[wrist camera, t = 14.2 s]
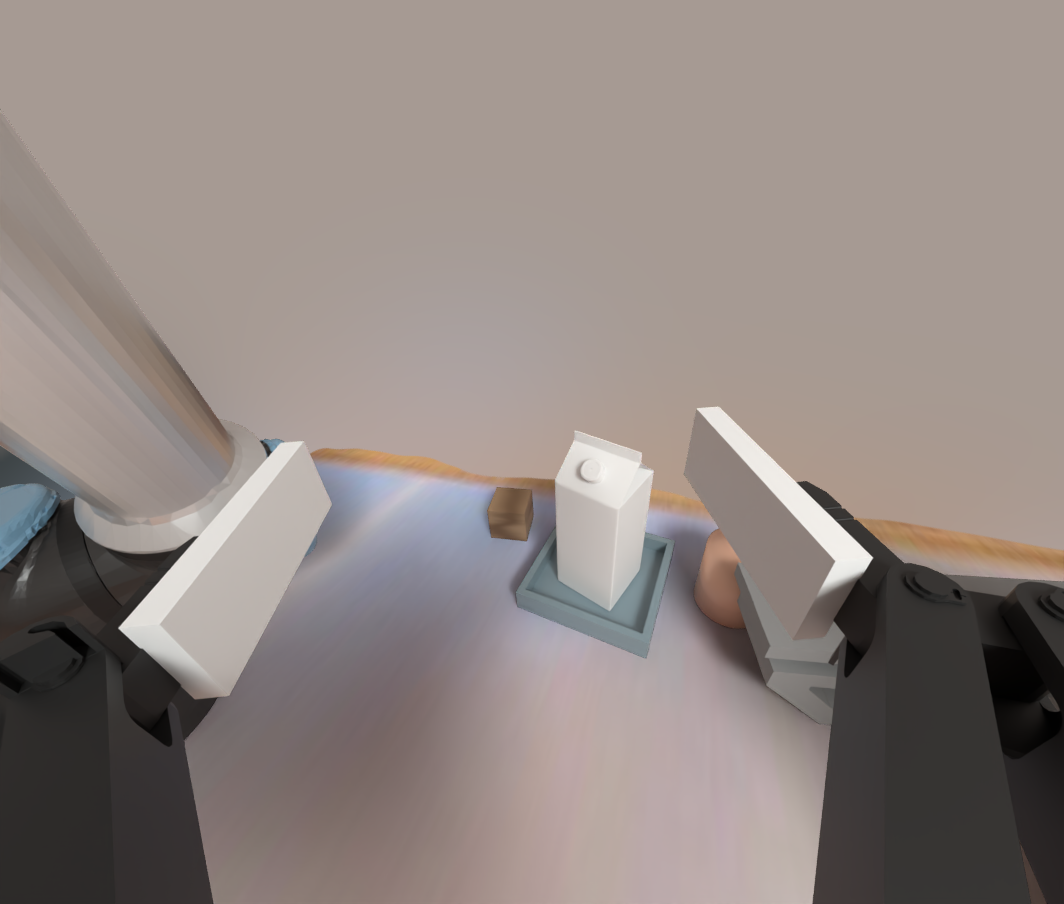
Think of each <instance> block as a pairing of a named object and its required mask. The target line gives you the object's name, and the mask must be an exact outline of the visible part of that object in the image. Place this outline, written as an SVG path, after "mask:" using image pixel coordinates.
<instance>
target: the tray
mask: <svg viewBox="0 0 1064 904" xmlns="http://www.w3.org/2000/svg"><path fill="white" fill-rule="evenodd" d="M674 544H675V541H674V540H670V539H667V538H663V537H660V536H656V535H652V534H649V533H645V536H644V543H643V550H642V557H641V564H640V570H639V572H638V573H637V574H636V576H635V577H634V579H633V580H632V581H631V583H630V584H629V585H628V587H627V588H626V590H625V591H624V592H623V594H622V595H621V597H620V598H619V599H618V601H617V602H616V604H615V605H614V606H613V608H612V609H611V610H610V611H608V610H606V609H604V608H603V607H601V606H600V605H598V604H596V603H595V602H593V601H591V600H590V599H588V598H586V597H585V596H583V595H581V594H580V593H578V592H577V591H575V590H573V589H572V588H570V587H568V586H567V585H565V584H563V583H562V582H560V581H559V580H558V569H557V537H556V527H555V528H554V530H553V532H552V533H551V535H550V536H549V538H548V540H547V541H546V543H545V545H544V546H543V548H542V550H541V551H540V553H539V555H538V556H537V558H536V560H535V561H534V563H533V565H532V566H531V568H530V570H529V571H528V573H527V575H526V576H525V578H524V580H523V581H522V583H521V585H520V586H519V588H518V589H517V591H516V598H517V606H518V607H519V608H522V609H524V610H527V611H529V612H532V613H534V614H537V615H539V616H542V617H544V618H547V619H549V620H552V621H554V622H557V623H559V624H561V625H564V626H566V627H569V628H571V629H574V630H576V631H579V632H581V633H584V634H586V635H589V636H591V637H594V638H596V639H599V640H601V641H604V642H606V643H609V644H611V645H614V646H616V647H619V648H621V649H624V650H626V651H629V652H631V653H633V654H636V655H638V656H641V657H643V658H646V657H647V653H648V649H649V645H650V641H651V637H652V634H653V630H654V626H655V622H656V618H657V614H658V610H659V606H660V602H661V598H662V594H663V590H664V586H665V582H666V578H667V574H668V570H669V566H670V562H671V558H672V554H673V549H674Z"/></svg>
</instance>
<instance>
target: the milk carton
mask: <svg viewBox="0 0 1064 904" xmlns="http://www.w3.org/2000/svg"><path fill="white" fill-rule="evenodd" d="M641 458H642V453H641V452H638V451H635V450H632V449H629V448H626V447H623V446H621V445H618V444H615V443H611V442H609V441H606V440H603V439H600V438H597V437H594V436H591V435H588V434H585V433H582V432H579V431H574V442H573V444H572V446H571V448H570V450H569V452H568V454H567V456H566V458H565V460H564V462H563V464H562V467H561V468H560V471H559V473H558V475H557V477H556V479H555V504H556V537H557V569H558V580H559V581H560V582H562V583H563V584H565V585H567V586H568V587H570V588H572V589H573V590H575V591H577V592H578V593H580V594H581V595H583V596H585V597H586V598H588V599H590V600H591V601H593V602H595V603H596V604H598V605H600V606H601V607H603V608H604V609H606V610H608V611H610V610H611V609H612V608H613V606H614V605H615V604H616V602H617V601H618V599H619V598H620V597H621V595H622V594H623V592H624V591H625V590H626V588H627V587H628V585H629V584H630V583H631V581H632V580H633V579H634V577H635V576H636V574H637V573H638V572H639V570H640V564H641V557H642V550H643V543H644V536H645V529H646V522H647V515H648V507H649V500H650V493H651V486H652V479H653V472H654V471H653V470H652V469H650V468H648V467H647V466H645V465H643V464H642V463H641Z"/></svg>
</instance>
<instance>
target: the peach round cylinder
mask: <svg viewBox="0 0 1064 904" xmlns="http://www.w3.org/2000/svg"><path fill="white" fill-rule="evenodd" d="M738 563H742V562H741V561H740V559H739V558H738V556H737V555H736V553H735V551H734V550H733V548H732V547H731V545H730V544H729V542H728V541H727V539H726V538H725V536H724V535H723V533H722V532H721V530H720V529H717V530H715V531H714V532H712V533H711V534H710V536H709V537H708V540H707V544H706V547H705V551H704V554H703V558H702V561H701V565H700V568H699V572H698V576H697V579H696V583H695V586H694V598H695V601H696V603H697V605H698V607H699V608H700V610H701V611H702V612H703V613H704V614H705V615H706V616H707V617H708V618H710V619H711V620H713V621H714V622H716V623H718V624H720V625H723V626H726V627H729V628H736V629H742V628H746V626H745V623H744V620H743V617H742V614H741V611H740V608H739V605H738V603H737V600H738V598H739V595H740V589H739V586H738V583H737V581H736V578H735V575H734V572H735V569H736V567H737V564H738Z"/></svg>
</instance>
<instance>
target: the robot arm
mask: <svg viewBox="0 0 1064 904" xmlns="http://www.w3.org/2000/svg"><path fill="white" fill-rule="evenodd" d="M0 446H2V447H3V448H5V449H6V450H8V451H9V452H11V453H13V454H14V455H15V456H17V457H18V458H20V459H21V460H23V461H24V462H26V463H28V464H29V465H31V466H32V467H34V468H35V469H37V470H38V471H40V472H41V473H43V474H44V475H46V476H47V477H49V478H50V479H52V480H53V481H55V482H56V483H58V484H60V485H61V486H62V487H64V488H65V489H67V490H68V491H70V492H71V493H73V494H74V495H75V498H72V499H68V500H61V499H60V495H59V493H58V492H57V491H54V490H51V489H49V488H47V487H46V486H43V485H41V484H27V485H23V484H17V485H12V486H7V487H3V488H0V904H213V899H212V893H211V888H210V882H209V877H208V872H207V866H206V861H205V855H204V850H203V844H202V839H201V833H200V828H199V822H198V817H197V811H196V806H195V800H194V795H193V789H192V784H191V779H190V773H189V768H188V762H187V757H186V751H185V746H184V739H185V738H186V737H187V736H188V735H189V734H190V733H191V732H192V731H193V730H194V729H195V727H196V726H197V725H198V724H199V723H200V722H201V720H202V719H203V718H204V716H205V715H206V714H207V712H208V711H209V710H210V708H211V706H212V705H213V703H214V702H215V700H216V698H217V697H224V696H229V695H230V693H231V692H232V690H233V688H234V686H235V684H236V682H237V680H238V679H239V677H240V675H241V673H242V671H243V669H244V667H245V666H246V664H247V662H248V660H249V658H250V656H251V654H252V653H253V651H254V649H255V647H256V645H257V643H258V641H259V640H260V638H261V636H262V634H263V632H264V630H265V628H266V627H267V625H268V623H269V621H270V619H271V617H272V615H273V614H274V612H275V610H276V608H277V606H278V604H279V602H280V601H281V599H282V597H283V595H284V593H285V591H286V589H287V587H288V586H289V584H290V582H291V580H292V578H293V576H294V574H295V573H296V571H297V569H298V567H299V565H300V563H301V561H302V560H303V558H304V557H305V556H307V555H309V554H310V553H311V552H312V551H313V549H314V548H315V546H316V543H317V536H316V534H317V532H318V530H319V528H320V526H321V524H322V522H323V521H324V519H325V517H326V515H327V513H328V511H329V509H330V508H331V506H332V503H331V501H330V498H329V496H328V494H327V492H326V489H325V487H324V485H323V483H322V480H321V478H320V476H319V473H318V471H317V469H316V467H315V464H314V462H313V460H312V458H311V455H310V453H309V451H308V449H307V446H306V444H305V442H304V441H298V442H284V441H282V440H280V439H273V440H268V439H264V440H260V441H259V439H258V438H257V437H256V436H255V435H254V434H253V433H252V432H250V431H249V430H248V429H246V428H244V427H242V426H240V425H238V424H235V423H232V422H229V421H225V420H221V419H218V418H217V417H216V415H215V414H214V413H213V411H212V410H211V408H210V407H209V405H208V404H207V402H206V401H205V400H204V398H203V397H202V395H201V394H200V393H199V391H198V390H197V389H196V387H195V386H194V384H193V383H192V381H191V380H190V378H189V377H188V375H187V374H186V373H185V371H184V370H183V368H182V367H181V365H180V364H179V363H178V361H177V360H176V358H175V357H174V356H173V354H172V353H171V351H170V350H169V348H168V347H167V346H166V344H165V343H164V341H163V340H162V339H161V337H160V336H159V334H158V333H157V331H156V330H155V328H154V327H153V326H152V324H151V323H150V321H149V320H148V319H147V317H146V316H145V314H144V313H143V311H142V310H141V309H140V307H139V306H138V304H137V303H136V302H135V300H134V299H133V297H132V296H131V294H130V293H129V291H128V290H127V289H126V287H125V286H124V284H123V283H122V282H121V280H120V279H119V277H118V276H117V275H116V273H115V272H114V270H113V269H112V267H111V266H110V264H109V263H108V262H107V260H106V259H105V257H104V256H103V255H102V253H101V252H100V250H99V249H98V247H97V246H96V245H95V243H94V242H93V240H92V239H91V237H90V236H89V235H88V233H87V232H86V230H85V229H84V227H83V226H82V225H81V223H80V222H79V220H78V219H77V217H76V216H75V215H74V213H73V212H72V210H71V209H70V207H69V206H68V205H67V203H66V202H65V200H64V199H63V198H62V196H61V195H60V193H59V192H58V190H57V189H56V188H55V186H54V185H53V183H52V182H51V180H50V179H49V178H48V176H47V175H46V173H45V172H44V171H43V169H42V168H41V166H40V165H39V163H38V162H37V161H36V159H35V158H34V156H33V155H32V153H31V152H30V151H29V149H28V148H27V146H26V145H25V143H24V142H23V141H22V139H21V138H20V136H19V135H18V133H17V132H16V131H15V129H14V128H13V126H12V125H11V124H10V122H9V121H8V119H7V118H6V116H5V115H4V114H3V112H2V111H1V109H0ZM684 475H685V477H686V478H687V479H688V481H689V483H690V484H691V486H692V487H693V489H694V490H695V492H696V493H697V495H698V496H699V498H700V499H701V501H702V503H703V504H704V506H705V507H706V509H707V510H708V512H709V513H710V515H711V516H712V518H713V519H714V521H715V522H716V524H717V525H718V527H719V529H720V530H721V532H722V533H723V535H724V536H725V538H726V539H727V541H728V542H729V544H730V545H731V547H732V548H733V550H734V551H735V553H736V555H737V556H738V558H739V559H740V561H741V562H742V564H743V565H744V567H745V568H746V570H747V571H748V573H749V574H750V576H751V577H752V579H753V581H754V582H755V584H756V585H757V587H758V588H759V590H760V591H761V593H762V594H763V596H764V597H765V599H766V600H767V602H768V603H769V605H770V607H771V608H772V610H773V611H774V613H775V614H776V616H777V617H778V619H779V620H780V622H781V623H782V625H783V626H784V628H785V629H786V631H787V633H788V634H789V636H790V637H791V639H792V640H803V639H813V638H823V637H825V635H826V634H827V632H828V631H829V629H830V627H831V626H832V624H833V622H835V623H836V625H837V626H838V627H839V629H840V630H841V631H842V632H843V634H844V635H845V636H844V637H843V639H842V640H841V642H840V644H839V645H838V647H837V648H836V650H835V651H834V653H833V654H832V656H831V658H830V660H829V662H828V663H829V664H831V665H833V666H834V664H835V663H836V661H837V660H838V667H837V677H836V686H835V696H834V705H833V715H832V724H831V734H830V743H829V753H828V762H827V772H826V781H825V791H824V800H823V810H822V819H821V829H820V838H819V848H818V857H817V867H816V876H815V886H814V895H813V904H1031V900H1030V895H1029V890H1028V885H1027V879H1026V874H1025V869H1024V864H1023V858H1022V853H1021V848H1020V843H1019V840H1020V842H1021V845H1022V847H1023V849H1024V852H1025V854H1026V856H1027V859H1028V861H1029V863H1030V865H1031V868H1032V870H1033V872H1034V875H1035V877H1036V879H1037V882H1038V884H1039V886H1040V889H1041V891H1042V893H1043V895H1044V898H1045V900H1046V902H1047V904H1064V588H1060V587H1057V586H1053V585H1050V584H1047V583H1040V582H1031V581H1028V582H1024V583H1020V584H1018V585H1017V586H1016V587H1015V588H1014V589H1013V590H1012V591H1011V592H1010V593H1009V594H1008V595H1007V596H1006V597H1005V596H999V595H993V594H986V593H980V592H974V591H968V590H964V589H963V588H962V587H961V586H960V585H959V584H958V583H956V582H955V581H953V580H951V579H950V578H948V577H947V576H945V575H944V574H942V573H939V572H937V571H935V570H932V569H930V568H928V567H924V566H920V565H916V564H912V563H903V562H902V561H901V560H900V559H899V558H898V557H897V556H896V555H894V554H893V553H892V552H891V551H890V550H889V549H888V548H887V547H886V546H885V545H884V544H882V543H881V542H880V541H879V540H878V539H877V538H876V537H875V536H874V535H873V534H872V533H870V532H869V531H868V530H867V529H866V528H865V527H864V526H863V525H862V524H861V523H860V522H858V521H857V520H854V517H853V516H852V515H851V514H850V513H848V512H847V511H846V510H845V509H842V508H841V505H840V504H839V503H838V502H837V501H836V500H834V499H833V498H832V497H831V496H830V495H829V494H828V493H827V492H825V491H823V490H822V489H820V488H818V487H816V486H814V485H812V484H811V483H809V482H807V481H805V482H804V481H803V482H795V481H794V480H793V479H792V478H791V477H790V476H789V475H788V474H787V473H786V472H785V471H784V470H783V469H782V468H781V467H780V466H779V465H778V464H777V463H776V462H775V461H774V460H773V459H772V458H770V456H769V455H768V454H767V453H765V451H763V450H762V449H761V448H760V447H759V446H758V445H757V444H756V443H755V442H754V441H753V440H752V439H751V438H750V437H749V436H748V435H747V434H746V433H745V432H744V431H743V430H742V429H741V428H740V427H739V426H738V425H737V424H736V423H735V422H734V421H733V420H732V419H731V418H730V417H729V416H728V415H727V414H726V413H725V412H724V411H723V410H722V409H720V407H709V408H697V409H696V414H695V419H694V425H693V429H692V435H691V440H690V445H689V450H688V455H687V460H686V465H685V471H684ZM1050 693H1051V694H1052V696H1053V698H1054V699H1055V701H1056V702H1057V704H1058V707H1059V709H1060V711H1058V710H1057V709H1056V708H1055V706H1054V705H1053V704H1052V702H1051V700H1050V699H1049V697H1048V694H1050Z"/></svg>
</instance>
